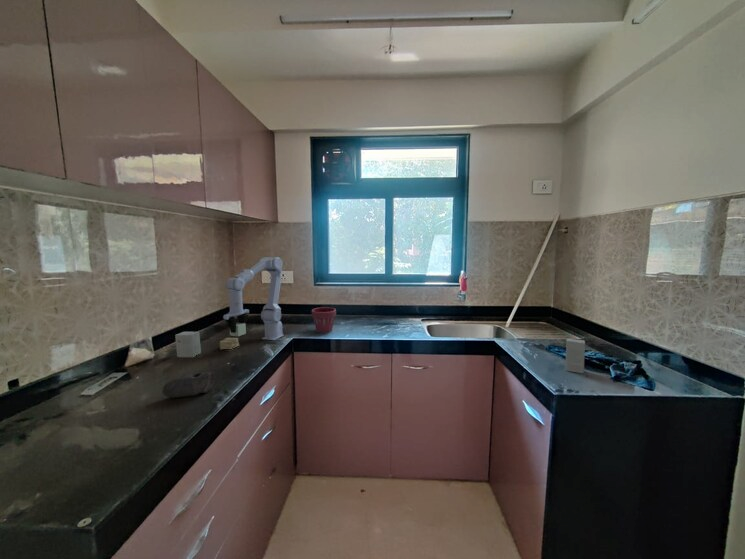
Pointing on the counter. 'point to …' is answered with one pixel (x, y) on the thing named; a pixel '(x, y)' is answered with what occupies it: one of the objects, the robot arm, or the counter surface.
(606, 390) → the counter surface
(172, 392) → the perforated stone tool
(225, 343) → the slab top
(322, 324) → the plant pot
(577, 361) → the skincare box
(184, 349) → the small box
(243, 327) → the sage cube
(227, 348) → the slab bottom
